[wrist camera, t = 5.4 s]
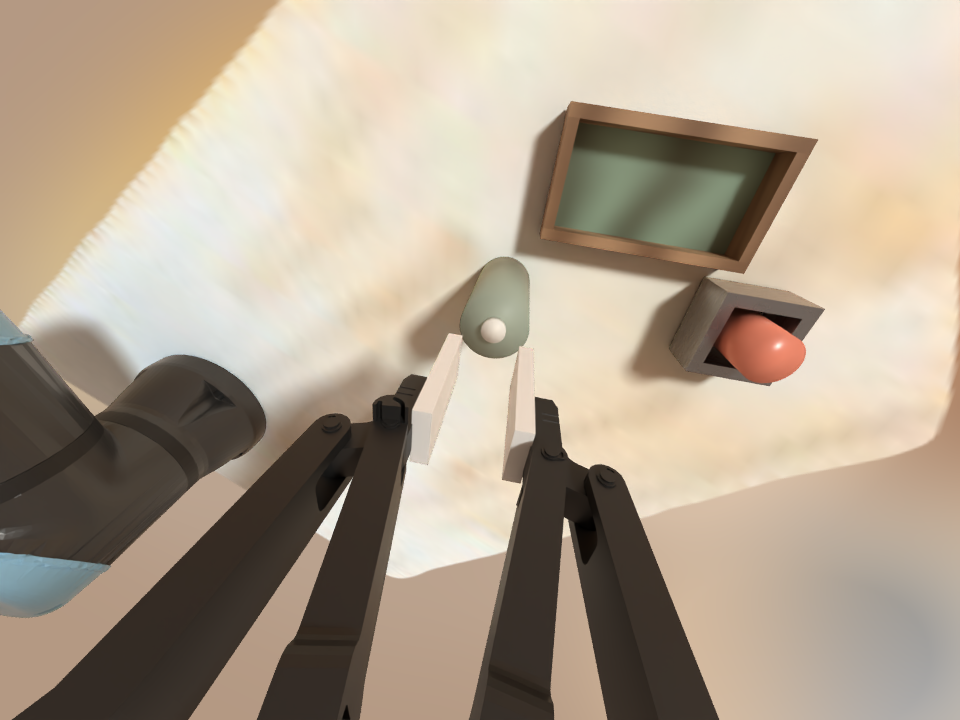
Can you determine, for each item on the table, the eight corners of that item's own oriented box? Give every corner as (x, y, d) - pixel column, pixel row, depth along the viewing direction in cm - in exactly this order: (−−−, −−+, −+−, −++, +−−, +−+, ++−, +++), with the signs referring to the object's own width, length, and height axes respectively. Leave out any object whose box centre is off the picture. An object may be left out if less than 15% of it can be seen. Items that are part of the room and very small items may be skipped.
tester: (668, 348, 32) (685, 370, 28) (704, 276, 28) (728, 292, 25) (743, 362, 32) (769, 386, 28) (789, 291, 28) (825, 309, 25)
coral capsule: (695, 341, 30) (729, 377, 25) (718, 300, 28) (759, 330, 23) (740, 349, 30) (783, 387, 25) (766, 308, 28) (819, 340, 23)
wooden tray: (539, 233, 28) (540, 238, 26) (567, 106, 24) (571, 101, 22) (727, 265, 28) (743, 273, 26) (791, 141, 23) (818, 139, 21)
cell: (476, 301, 32) (454, 355, 23) (483, 252, 30) (462, 291, 21) (523, 309, 32) (521, 368, 23) (534, 261, 30) (536, 305, 20)
